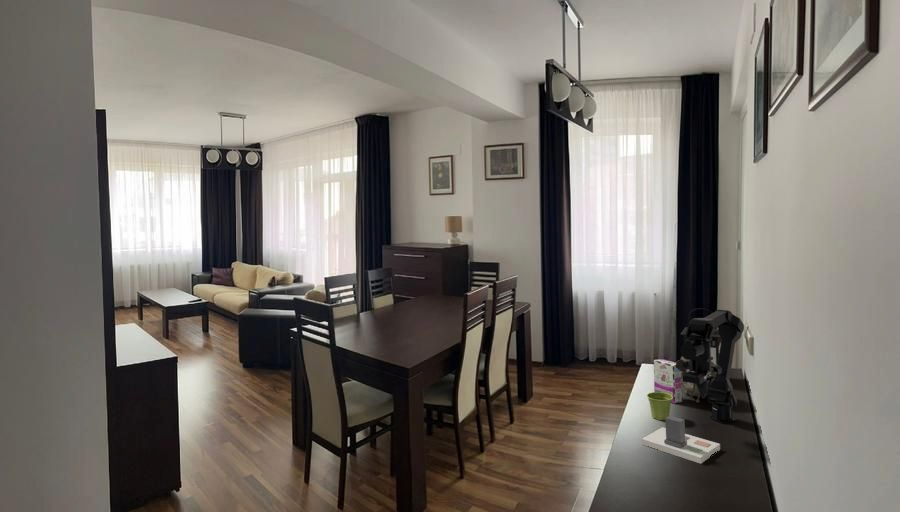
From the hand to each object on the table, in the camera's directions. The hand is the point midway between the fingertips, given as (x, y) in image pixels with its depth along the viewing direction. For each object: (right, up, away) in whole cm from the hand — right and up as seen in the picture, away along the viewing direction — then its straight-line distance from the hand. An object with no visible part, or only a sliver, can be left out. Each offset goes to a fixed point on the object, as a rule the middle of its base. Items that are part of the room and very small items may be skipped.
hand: (702, 396), depth 179 cm
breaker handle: (-15, -13, -12) cm, 23 cm away
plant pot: (-9, -13, +16) cm, 22 cm away
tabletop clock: (+16, -11, +34) cm, 39 cm away
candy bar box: (+3, -11, +35) cm, 37 cm away
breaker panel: (-13, -14, -10) cm, 22 cm away
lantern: (+30, -9, +58) cm, 66 cm away
